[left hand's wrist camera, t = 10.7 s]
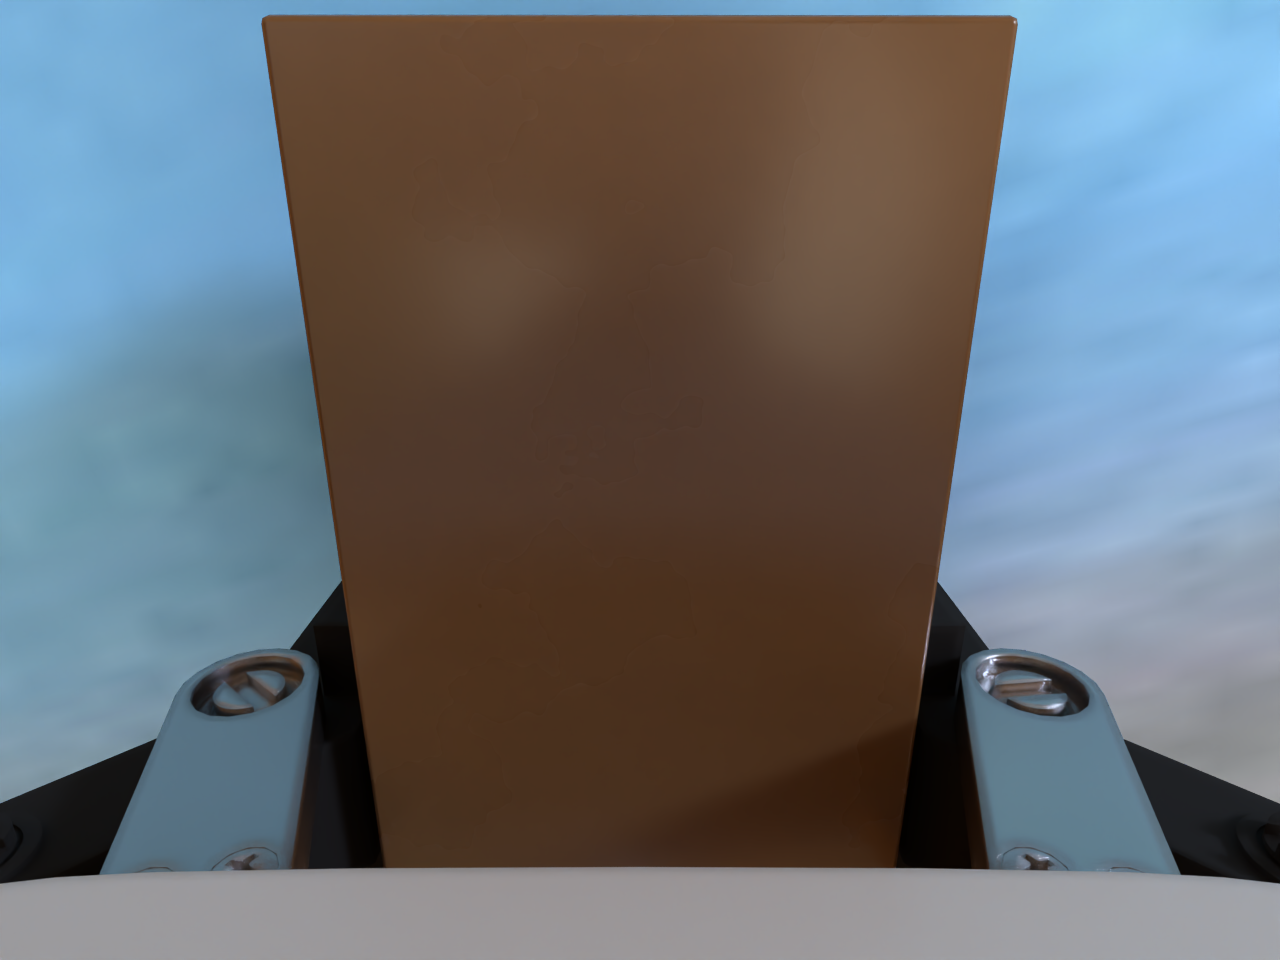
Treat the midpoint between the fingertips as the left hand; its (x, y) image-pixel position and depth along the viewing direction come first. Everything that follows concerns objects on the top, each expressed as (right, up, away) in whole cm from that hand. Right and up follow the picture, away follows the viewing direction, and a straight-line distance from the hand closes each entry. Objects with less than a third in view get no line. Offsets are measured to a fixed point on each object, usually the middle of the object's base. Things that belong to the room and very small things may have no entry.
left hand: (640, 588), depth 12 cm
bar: (0, -17, +8) cm, 19 cm away
